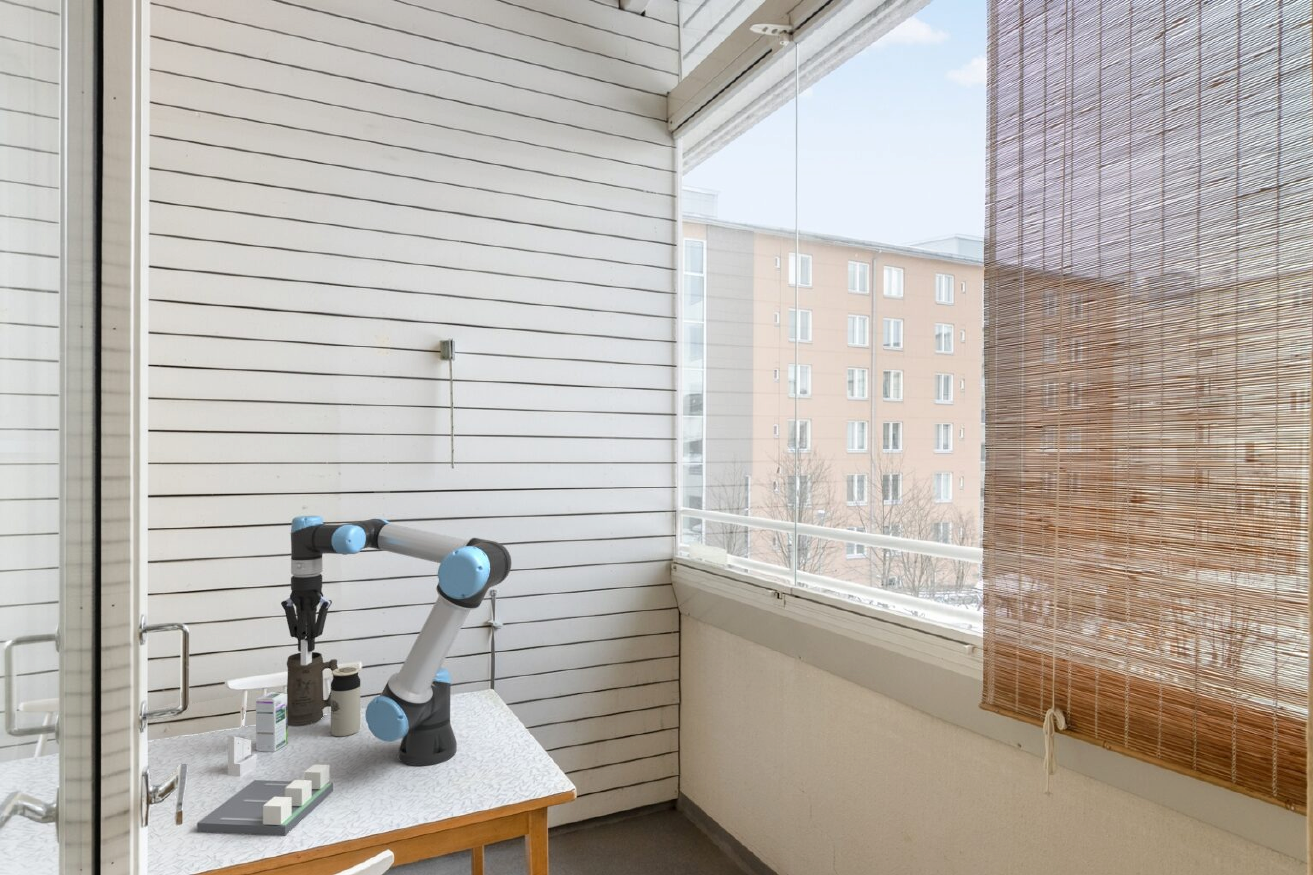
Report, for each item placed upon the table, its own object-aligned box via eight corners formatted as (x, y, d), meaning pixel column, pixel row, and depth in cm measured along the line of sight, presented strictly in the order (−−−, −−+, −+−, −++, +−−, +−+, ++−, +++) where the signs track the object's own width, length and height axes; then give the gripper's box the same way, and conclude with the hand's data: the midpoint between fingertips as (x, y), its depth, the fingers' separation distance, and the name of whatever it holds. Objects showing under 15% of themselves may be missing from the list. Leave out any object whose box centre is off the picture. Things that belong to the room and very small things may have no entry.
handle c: (291, 815, 159) (291, 797, 159) (280, 824, 155) (280, 806, 155) (274, 814, 160) (274, 796, 160) (263, 824, 156) (263, 805, 156)
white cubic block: (311, 797, 167) (311, 780, 167) (301, 806, 163) (301, 788, 163) (294, 796, 168) (295, 779, 168) (284, 805, 164) (285, 787, 164)
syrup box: (275, 752, 197) (275, 699, 197) (255, 751, 198) (255, 698, 198) (288, 743, 203) (288, 692, 203) (268, 742, 203) (268, 691, 203)
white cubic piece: (329, 781, 175) (329, 764, 175) (320, 789, 171) (320, 772, 171) (313, 780, 176) (313, 764, 176) (304, 788, 172) (304, 771, 172)
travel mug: (354, 724, 217) (354, 664, 217) (364, 731, 211) (364, 670, 211) (326, 731, 211) (327, 669, 212) (336, 739, 206) (336, 676, 206)
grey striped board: (333, 790, 175) (333, 782, 175) (285, 835, 155) (285, 825, 155) (254, 788, 177) (254, 779, 177) (197, 832, 157) (197, 822, 157)
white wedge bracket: (214, 772, 179) (228, 735, 184) (240, 777, 188) (253, 741, 192) (226, 774, 179) (240, 736, 183) (252, 778, 187) (265, 742, 191)
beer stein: (280, 728, 213) (285, 661, 213) (283, 716, 223) (288, 651, 223) (337, 724, 219) (342, 658, 220) (337, 712, 229) (342, 649, 229)
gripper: (274, 576, 187) (274, 667, 187) (322, 577, 186) (322, 668, 186) (291, 571, 195) (290, 658, 195) (337, 572, 194) (337, 659, 194)
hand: (306, 663), depth 190 cm, fingers closed
